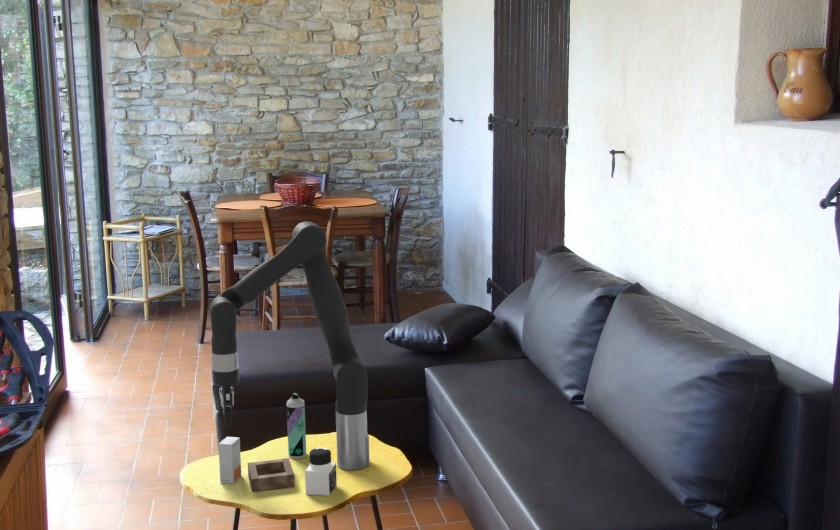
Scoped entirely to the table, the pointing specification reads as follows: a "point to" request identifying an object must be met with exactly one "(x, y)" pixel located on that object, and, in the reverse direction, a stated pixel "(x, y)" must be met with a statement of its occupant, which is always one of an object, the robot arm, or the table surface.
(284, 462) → the walnut well block
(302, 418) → the spray can
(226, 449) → the skincare box
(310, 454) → the medicine bottle
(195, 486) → the table surface
